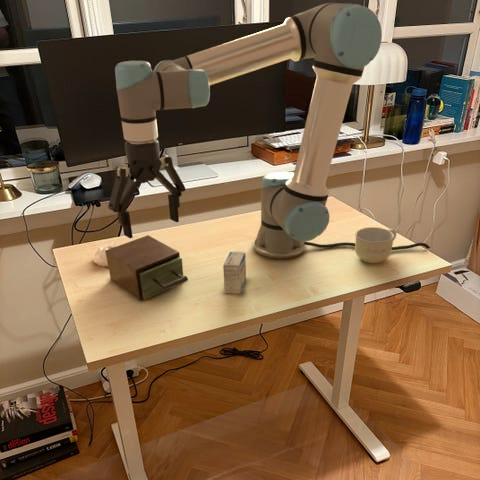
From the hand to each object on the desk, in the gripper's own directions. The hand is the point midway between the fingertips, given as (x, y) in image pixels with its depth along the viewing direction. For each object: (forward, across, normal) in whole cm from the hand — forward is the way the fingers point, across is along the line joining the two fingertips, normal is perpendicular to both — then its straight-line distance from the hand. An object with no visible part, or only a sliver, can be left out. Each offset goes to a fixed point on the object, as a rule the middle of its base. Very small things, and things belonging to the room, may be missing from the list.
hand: (152, 228), depth 121 cm
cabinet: (+18, 0, -7) cm, 20 cm away
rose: (+18, +1, -25) cm, 31 cm away
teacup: (+18, -58, +28) cm, 67 cm away
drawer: (+17, 0, -2) cm, 17 cm away
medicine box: (+18, -16, +12) cm, 27 cm away
